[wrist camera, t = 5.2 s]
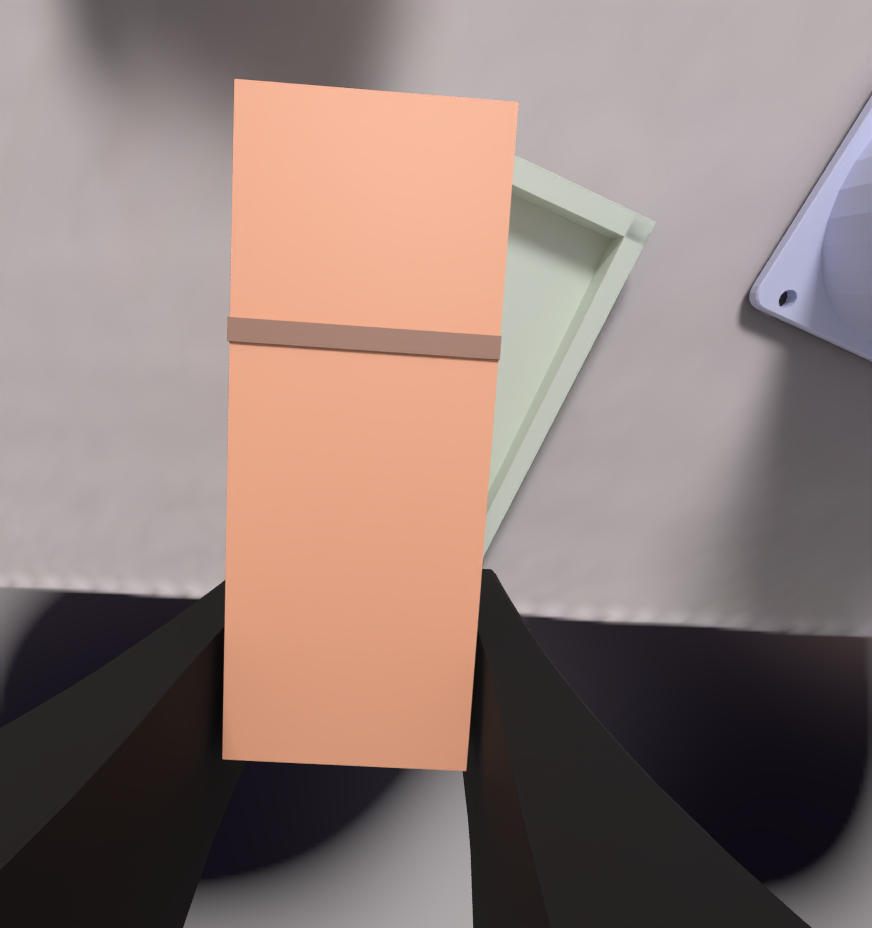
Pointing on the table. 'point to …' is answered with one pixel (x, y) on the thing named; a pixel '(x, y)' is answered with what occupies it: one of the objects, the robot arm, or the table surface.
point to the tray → (551, 311)
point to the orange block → (360, 419)
